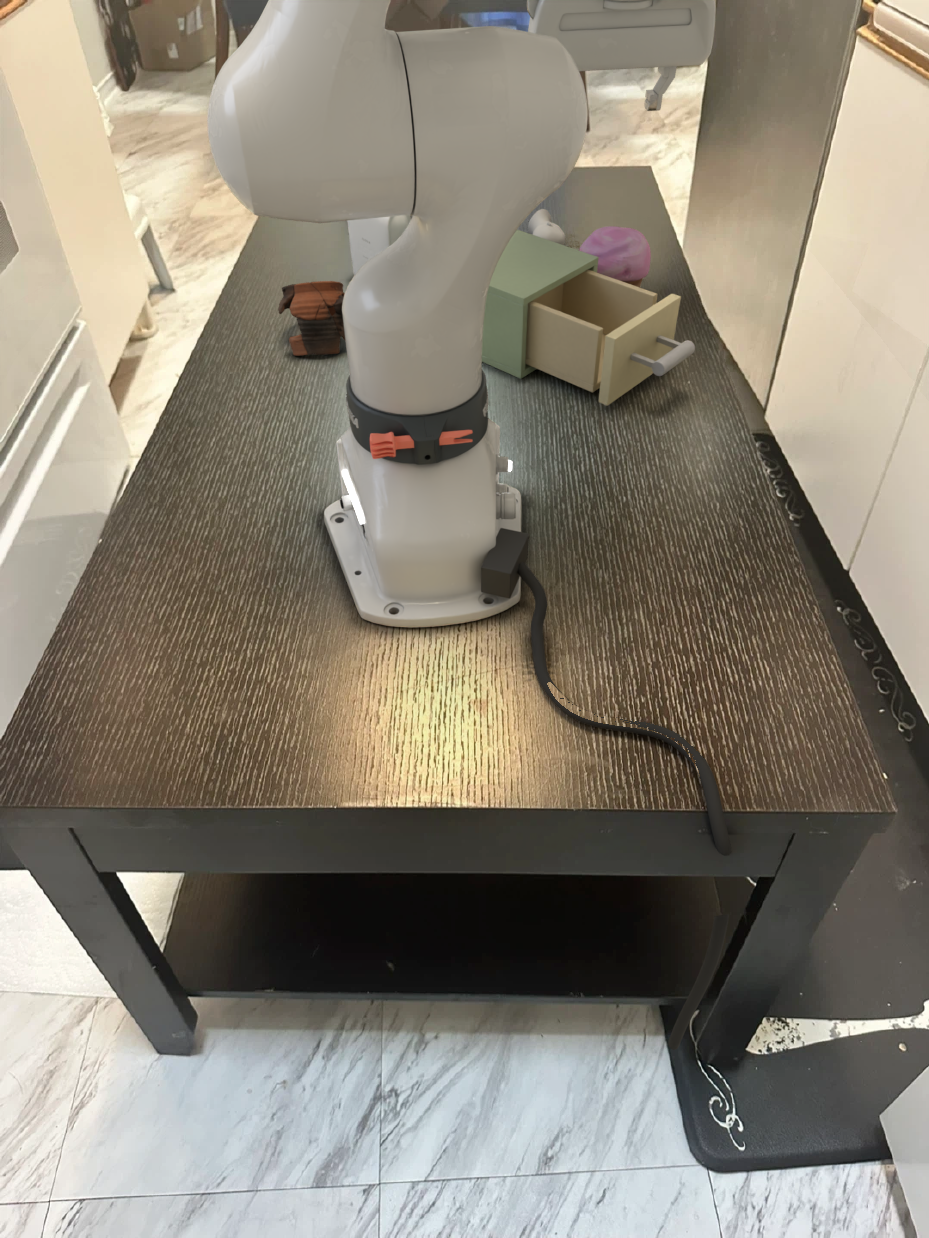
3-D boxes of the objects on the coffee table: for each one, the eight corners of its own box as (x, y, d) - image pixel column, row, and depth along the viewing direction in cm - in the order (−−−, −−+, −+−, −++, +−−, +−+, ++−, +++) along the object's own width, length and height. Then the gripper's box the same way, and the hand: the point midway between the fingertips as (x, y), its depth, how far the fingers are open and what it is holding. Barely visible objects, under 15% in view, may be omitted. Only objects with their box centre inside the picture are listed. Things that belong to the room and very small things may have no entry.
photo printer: (349, 279, 120) (338, 183, 111) (374, 270, 122) (366, 175, 113) (393, 306, 114) (386, 207, 105) (420, 296, 116) (415, 198, 107)
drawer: (703, 374, 100) (716, 308, 94) (641, 421, 93) (651, 353, 88) (562, 319, 109) (567, 257, 104) (497, 358, 103) (498, 294, 97)
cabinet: (591, 334, 108) (598, 257, 101) (520, 379, 101) (523, 298, 94) (488, 294, 116) (489, 219, 109) (416, 333, 109) (412, 255, 102)
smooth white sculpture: (563, 266, 124) (529, 256, 123) (554, 241, 130) (522, 232, 129) (574, 236, 121) (540, 226, 120) (565, 212, 127) (532, 202, 126)
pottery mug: (268, 360, 106) (258, 287, 104) (311, 359, 114) (302, 291, 112) (355, 350, 101) (347, 273, 99) (393, 350, 109) (386, 279, 107)
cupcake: (564, 298, 115) (570, 220, 108) (625, 288, 117) (635, 210, 110) (592, 330, 109) (600, 249, 102) (656, 319, 111) (668, 238, 104)
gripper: (533, -25, 88) (527, 126, 98) (731, -33, 90) (705, 116, 100) (522, -39, 92) (517, 107, 103) (711, -47, 94) (688, 98, 104)
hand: (612, 111), depth 101 cm, fingers open, 8 cm apart
